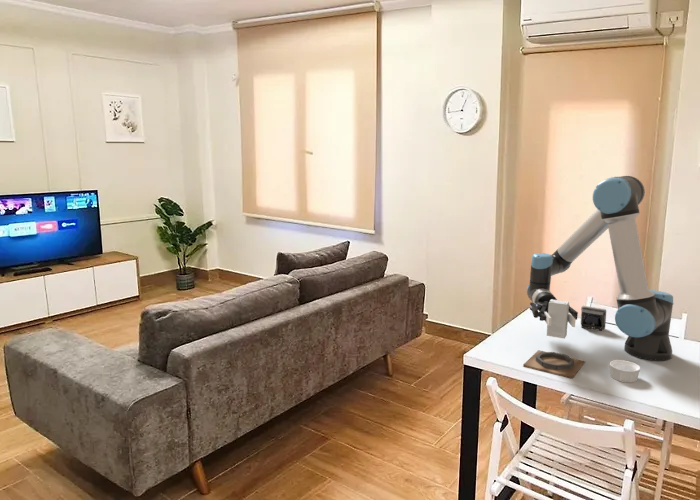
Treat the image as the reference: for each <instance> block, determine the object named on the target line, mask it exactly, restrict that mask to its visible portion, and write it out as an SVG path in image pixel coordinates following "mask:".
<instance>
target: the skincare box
mask: <svg viewBox="0 0 700 500" xmlns="http://www.w3.org/2000/svg"><path fill="white" fill-rule="evenodd" d="M569 306H570V302H569V301H566V300H558V299H557V300H553V299H551V300H550V301H549V307H548V314H549V316H550V317H551V326H548V325H547V326H546V327H547V328H546V336H548V337H552V338H559V339H563V340H564V339H566V337H567V336H568V335H567V334H568V323H569V322H568V310H569Z"/></svg>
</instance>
